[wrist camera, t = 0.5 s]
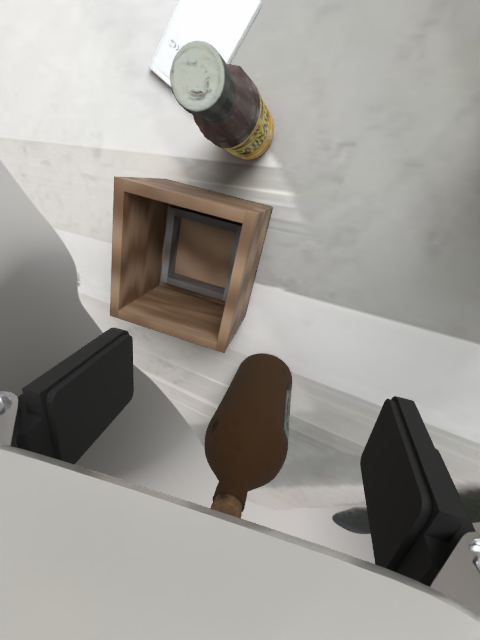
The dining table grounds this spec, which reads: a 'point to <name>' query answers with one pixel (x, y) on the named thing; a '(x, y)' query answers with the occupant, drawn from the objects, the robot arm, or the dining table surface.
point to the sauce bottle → (221, 100)
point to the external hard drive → (204, 29)
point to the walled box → (184, 258)
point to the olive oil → (249, 431)
